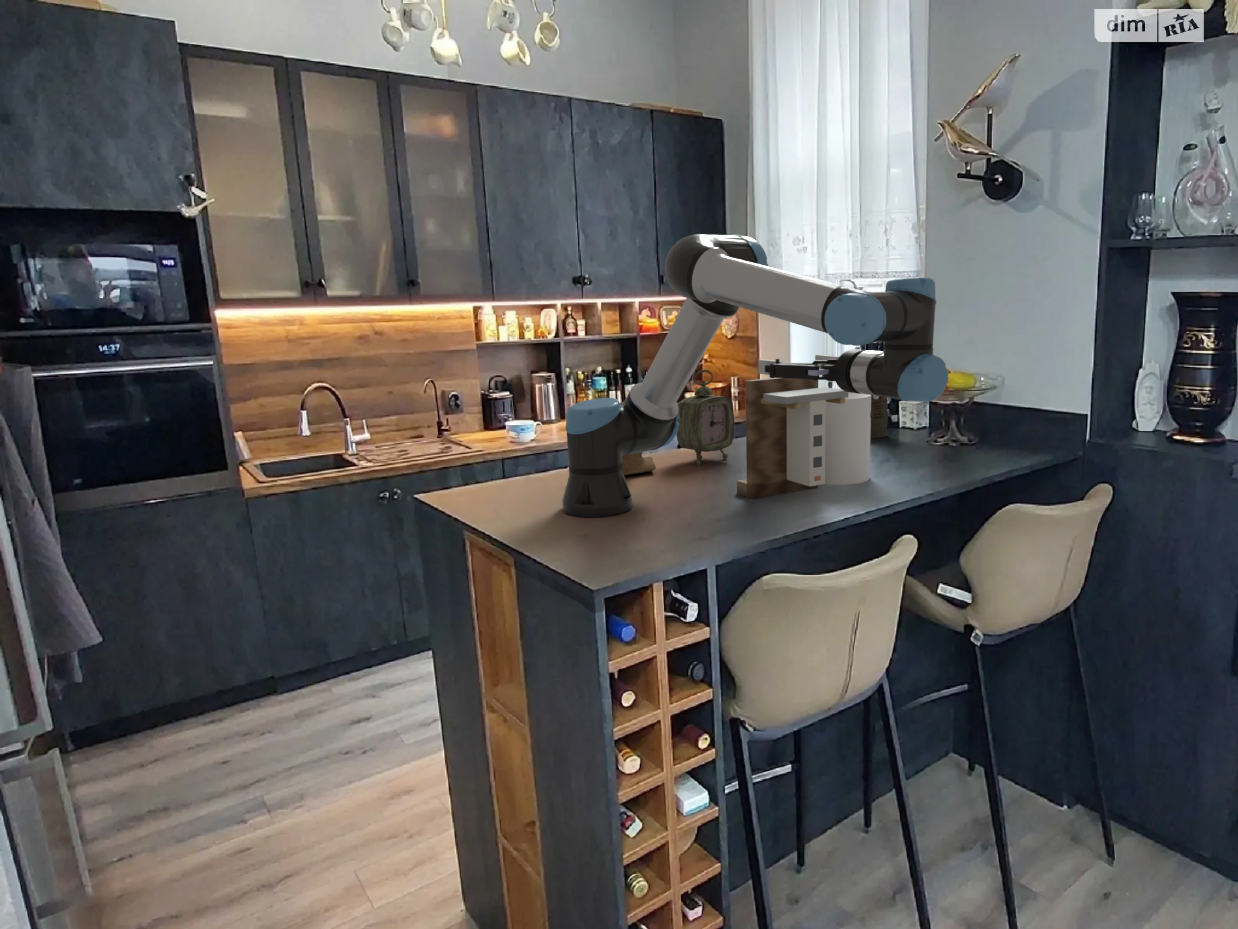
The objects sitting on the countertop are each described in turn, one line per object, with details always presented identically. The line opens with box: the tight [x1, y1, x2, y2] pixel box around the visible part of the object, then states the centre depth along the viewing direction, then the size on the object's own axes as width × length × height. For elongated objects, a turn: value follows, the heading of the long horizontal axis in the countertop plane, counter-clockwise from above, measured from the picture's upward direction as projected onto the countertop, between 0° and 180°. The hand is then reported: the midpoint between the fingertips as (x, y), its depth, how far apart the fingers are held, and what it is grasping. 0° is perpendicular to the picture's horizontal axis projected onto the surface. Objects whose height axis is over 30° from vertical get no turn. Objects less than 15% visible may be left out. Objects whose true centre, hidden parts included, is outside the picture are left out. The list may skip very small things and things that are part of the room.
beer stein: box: [870, 395, 889, 440], centre depth 247 cm, size 15×11×20 cm
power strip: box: [763, 386, 848, 486], centre depth 172 cm, size 16×8×20 cm, turn 115°
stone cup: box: [622, 452, 657, 476], centre depth 206 cm, size 15×12×15 cm
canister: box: [822, 392, 871, 486], centre depth 192 cm, size 16×16×20 cm
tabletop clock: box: [675, 369, 735, 466], centre depth 217 cm, size 14×9×25 cm, turn 129°
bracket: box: [736, 377, 845, 500], centre depth 176 cm, size 18×18×26 cm
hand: (788, 363), depth 157 cm, fingers open, 13 cm apart
